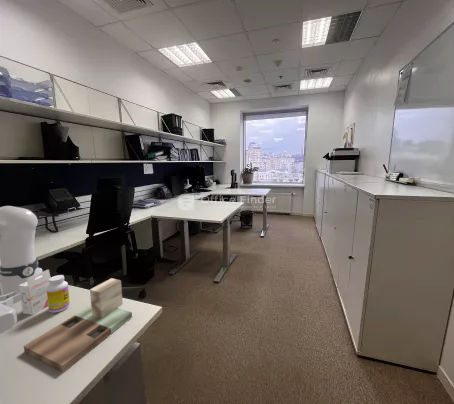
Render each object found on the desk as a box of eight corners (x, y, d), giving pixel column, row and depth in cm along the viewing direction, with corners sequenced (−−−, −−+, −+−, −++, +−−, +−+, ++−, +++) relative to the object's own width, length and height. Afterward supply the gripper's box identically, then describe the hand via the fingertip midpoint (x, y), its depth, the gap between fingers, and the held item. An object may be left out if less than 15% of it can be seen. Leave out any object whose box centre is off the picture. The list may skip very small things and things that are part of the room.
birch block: (92, 315, 78) (89, 289, 77) (113, 301, 86) (111, 278, 85) (102, 318, 76) (99, 292, 75) (122, 304, 85) (121, 280, 83)
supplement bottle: (67, 311, 83) (63, 280, 82) (46, 315, 81) (42, 283, 79) (72, 301, 90) (69, 272, 88) (52, 305, 87) (49, 275, 85)
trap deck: (24, 351, 64) (23, 346, 64) (97, 306, 87) (97, 301, 86) (63, 372, 58) (62, 365, 58) (132, 317, 80) (131, 312, 80)
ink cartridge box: (44, 300, 90) (40, 267, 88) (54, 302, 89) (50, 268, 87) (21, 313, 82) (16, 277, 80) (32, 315, 81) (27, 279, 79)
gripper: (-88, 332, 46) (-2, 298, 59) (-43, 363, 39) (44, 316, 52) (-94, 306, 45) (-6, 276, 58) (-49, 332, 38) (41, 292, 51)
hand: (18, 295), depth 55 cm, fingers closed
